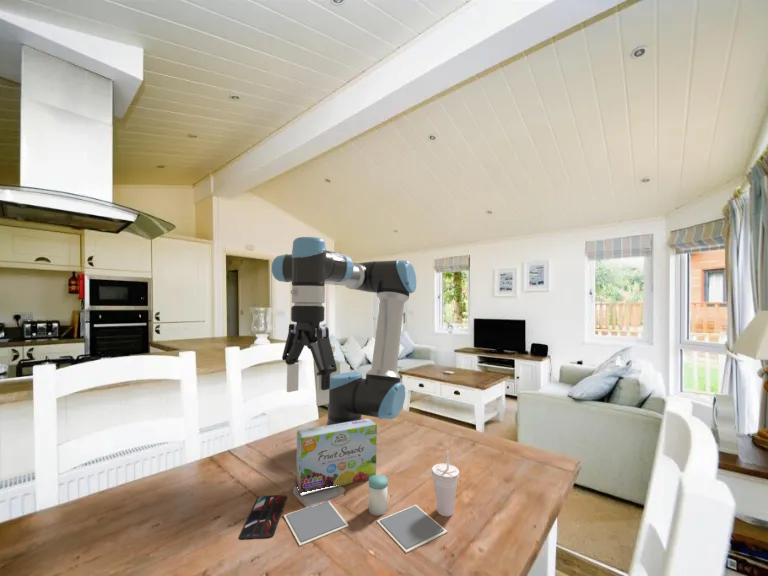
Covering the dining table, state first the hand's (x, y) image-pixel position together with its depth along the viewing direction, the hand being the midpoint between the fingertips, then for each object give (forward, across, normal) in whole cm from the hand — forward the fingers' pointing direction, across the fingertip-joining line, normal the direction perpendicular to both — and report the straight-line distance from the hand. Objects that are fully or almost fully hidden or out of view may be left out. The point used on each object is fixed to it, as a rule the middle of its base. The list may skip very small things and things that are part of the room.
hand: (306, 397), depth 78 cm
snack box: (+27, -7, +14) cm, 31 cm away
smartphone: (+28, -7, -6) cm, 29 cm away
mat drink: (+27, +18, +16) cm, 36 cm away
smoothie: (+27, +20, +26) cm, 42 cm away
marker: (+27, +9, +14) cm, 32 cm away
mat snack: (+27, +3, +1) cm, 27 cm away
